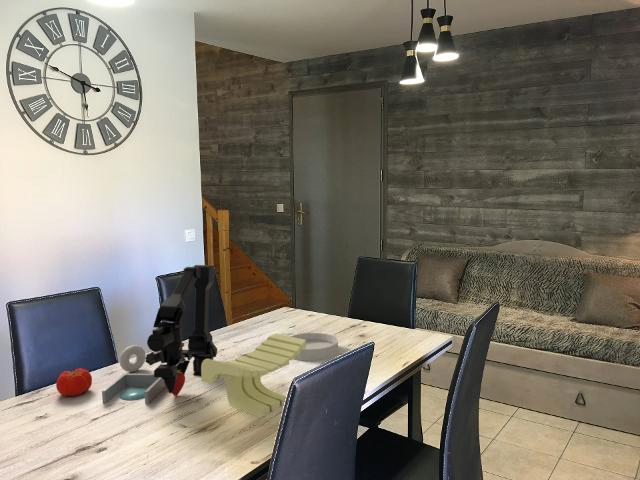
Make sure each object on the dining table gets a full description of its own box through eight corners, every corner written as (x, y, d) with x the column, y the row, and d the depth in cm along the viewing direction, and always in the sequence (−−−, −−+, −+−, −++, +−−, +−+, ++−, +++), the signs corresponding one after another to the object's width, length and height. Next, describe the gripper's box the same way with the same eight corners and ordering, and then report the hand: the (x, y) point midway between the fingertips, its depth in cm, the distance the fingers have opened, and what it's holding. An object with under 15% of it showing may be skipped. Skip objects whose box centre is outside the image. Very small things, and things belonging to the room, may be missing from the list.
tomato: (54, 401, 166) (52, 379, 165) (61, 388, 177) (59, 367, 176) (90, 397, 169) (88, 375, 168) (95, 384, 180) (93, 364, 179)
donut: (123, 376, 187) (121, 349, 186) (118, 374, 189) (116, 347, 188) (148, 368, 194) (146, 343, 193) (143, 366, 197) (142, 341, 195)
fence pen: (166, 385, 178) (165, 374, 177) (148, 403, 163) (147, 391, 162) (124, 384, 179) (123, 373, 179) (102, 403, 164) (101, 391, 164)
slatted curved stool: (271, 381, 179) (269, 332, 177) (306, 392, 169) (305, 339, 167) (203, 413, 155) (200, 356, 153) (240, 428, 146) (238, 367, 144)
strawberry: (160, 398, 167) (158, 368, 166) (176, 390, 173) (175, 361, 172) (174, 401, 164) (173, 371, 163) (190, 392, 171) (188, 363, 170)
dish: (340, 344, 220) (340, 333, 219) (336, 362, 198) (336, 349, 197) (288, 343, 222) (288, 332, 221) (279, 361, 200) (279, 349, 199)
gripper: (160, 333, 177) (162, 377, 178) (136, 351, 158) (139, 399, 160) (191, 333, 176) (193, 377, 177) (171, 351, 157) (173, 400, 159)
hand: (175, 388), depth 168 cm, fingers closed on strawberry, 7 cm apart
